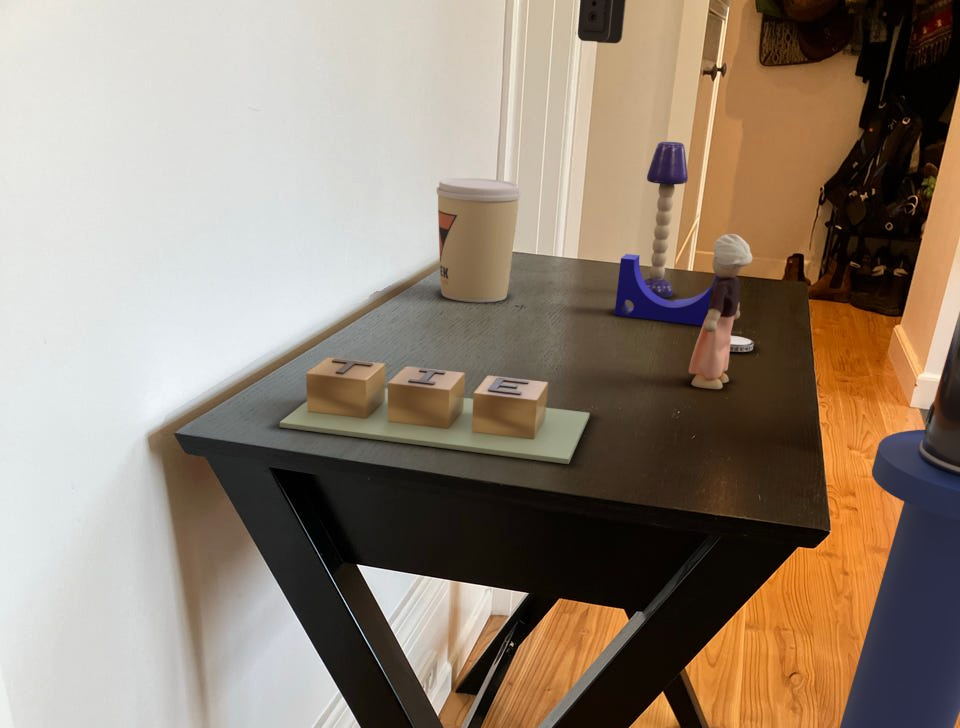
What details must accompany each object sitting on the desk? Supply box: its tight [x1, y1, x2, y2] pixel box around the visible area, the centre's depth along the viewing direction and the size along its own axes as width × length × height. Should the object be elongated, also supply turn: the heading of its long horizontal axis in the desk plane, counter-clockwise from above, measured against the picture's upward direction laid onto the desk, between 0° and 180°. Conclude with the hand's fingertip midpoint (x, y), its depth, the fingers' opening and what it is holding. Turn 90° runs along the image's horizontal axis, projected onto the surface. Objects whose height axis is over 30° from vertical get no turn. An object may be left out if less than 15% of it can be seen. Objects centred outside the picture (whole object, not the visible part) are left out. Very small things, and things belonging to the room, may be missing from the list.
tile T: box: [305, 356, 386, 418], centre depth 78 cm, size 5×5×3 cm
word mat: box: [279, 388, 591, 465], centre depth 78 cm, size 22×11×1 cm, turn 77°
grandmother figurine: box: [688, 233, 753, 390], centre depth 87 cm, size 8×4×13 cm, turn 162°
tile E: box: [472, 374, 549, 439], centre depth 76 cm, size 5×5×3 cm
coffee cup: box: [436, 177, 522, 304], centre depth 114 cm, size 9×9×12 cm
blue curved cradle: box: [614, 253, 718, 327], centre depth 111 cm, size 12×4×6 cm, turn 72°
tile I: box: [387, 365, 466, 429], centre depth 77 cm, size 5×5×3 cm
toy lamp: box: [643, 141, 689, 299], centre depth 118 cm, size 5×5×17 cm
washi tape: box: [730, 335, 755, 353], centre depth 102 cm, size 4×4×1 cm
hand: (600, 42), depth 75 cm, fingers open, 8 cm apart
